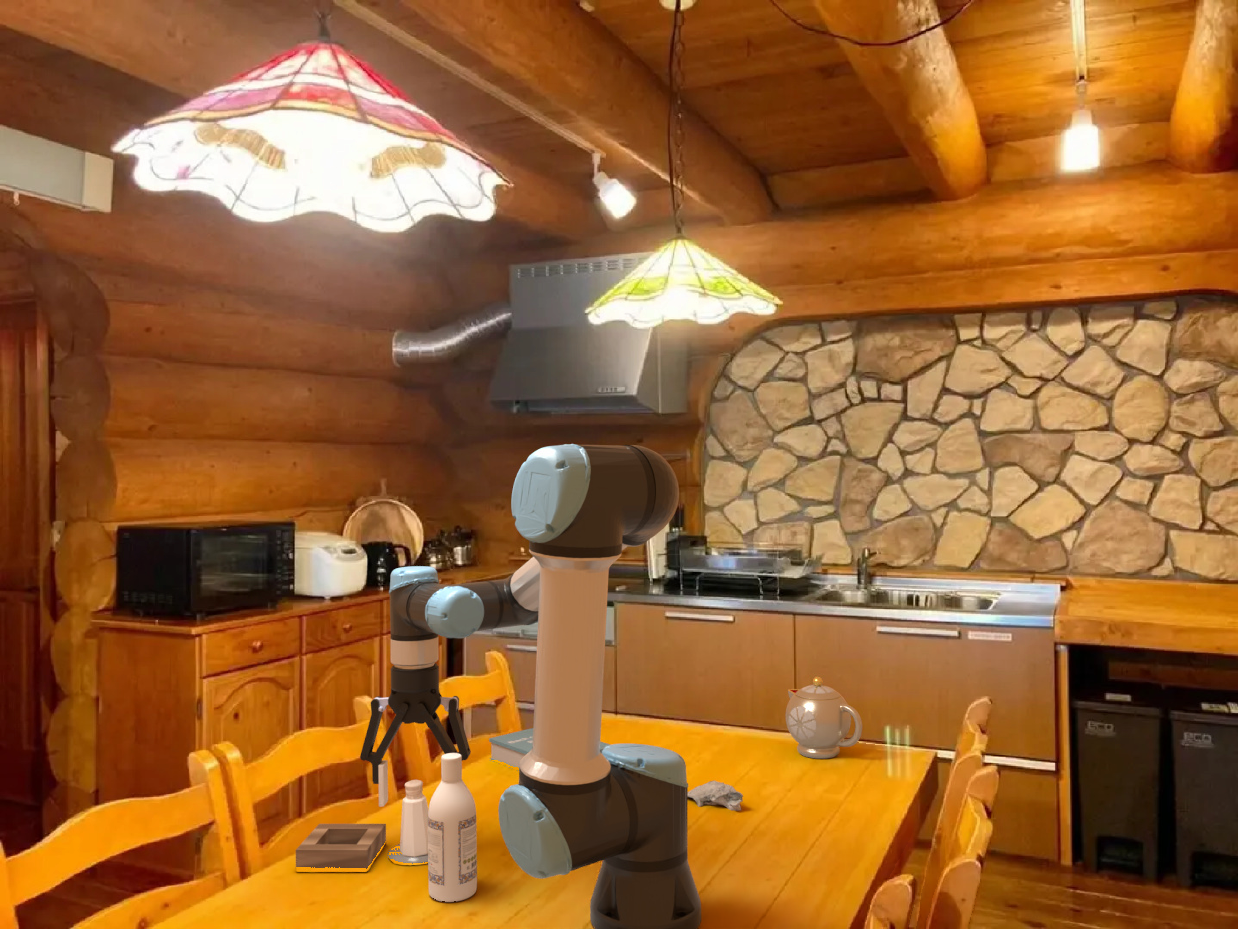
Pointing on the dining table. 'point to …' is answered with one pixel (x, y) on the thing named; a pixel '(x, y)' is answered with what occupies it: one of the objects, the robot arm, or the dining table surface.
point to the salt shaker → (414, 821)
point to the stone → (717, 795)
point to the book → (516, 747)
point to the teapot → (820, 720)
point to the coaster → (407, 857)
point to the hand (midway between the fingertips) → (416, 803)
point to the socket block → (341, 846)
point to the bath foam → (452, 835)
